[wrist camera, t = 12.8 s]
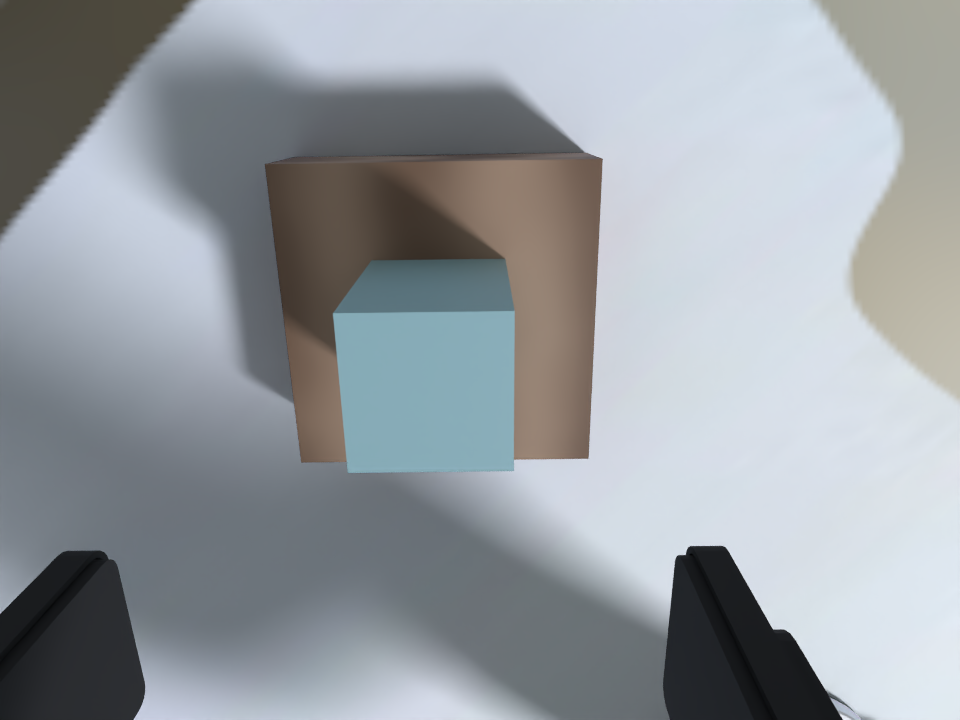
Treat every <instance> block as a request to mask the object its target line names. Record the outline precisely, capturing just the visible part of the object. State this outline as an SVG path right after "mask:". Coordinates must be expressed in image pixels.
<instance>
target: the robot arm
mask: <svg viewBox="0 0 960 720" xmlns="http://www.w3.org/2000/svg"><path fill="white" fill-rule="evenodd" d="M663 690H664V698H665V703H666V707H667V711H668V714H669V717H670V720H862V719H861V718H860V717H859V716H858V715H857V714H856V713H854V712H853V711H852V710H851V709H850V708H848V707H847V706H845V705H844V704H842V703H840V702H838V701H836V700H834V699H832V698H830V697H829V696H828V694H827V692H826V691H825V689H824V687H823V686H822V684H821V682H820V681H819V679H818V677H817V676H816V674H815V672H814V671H813V669H812V667H811V666H810V664H809V662H808V661H807V659H806V657H805V656H804V654H803V652H802V651H801V649H800V647H799V646H798V644H797V642H796V641H795V639H794V638H793V637H792V635H791V634H790V633H789V632H787V631H786V630H773V629H772V627H771V626H770V624H769V622H768V620H767V618H766V617H765V615H764V613H763V611H762V610H761V608H760V606H759V604H758V603H757V601H756V599H755V597H754V596H753V594H752V592H751V590H750V589H749V587H748V585H747V583H746V581H745V580H744V578H743V576H742V574H741V573H740V571H739V569H738V567H737V566H736V564H735V562H734V560H733V559H732V557H731V555H730V553H729V552H728V550H727V549H726V547H724V546H690V547H688V549H687V552H686V555H678V556H677V557H676V560H675V568H674V578H673V588H672V598H671V608H670V618H669V628H668V639H667V649H666V659H665V669H664V679H663ZM144 695H145V682H144V678H143V673H142V669H141V665H140V660H139V656H138V652H137V648H136V643H135V639H134V635H133V631H132V626H131V622H130V618H129V614H128V609H127V605H126V601H125V596H124V592H123V588H122V584H121V579H120V575H119V571H118V567H117V564H116V563H115V561H114V560H108V557H107V555H106V554H105V553H104V552H102V551H66V552H63V553H61V554H60V555H59V556H57V557H56V558H55V559H54V560H53V561H52V562H51V563H50V564H49V565H48V566H47V567H46V569H45V570H44V571H43V572H42V573H41V574H40V575H39V576H38V577H37V578H36V579H35V580H34V581H33V582H32V583H31V584H30V585H29V586H28V587H27V588H26V589H25V590H24V591H23V592H22V593H21V594H20V595H19V596H18V597H17V598H16V599H15V600H14V601H13V602H12V603H11V604H10V605H9V606H8V607H7V608H6V609H5V610H4V611H3V612H2V613H1V614H0V720H134V718H135V716H136V715H137V713H138V711H139V709H140V707H141V705H142V702H143V699H144Z"/></svg>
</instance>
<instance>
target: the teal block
mask: <svg viewBox="0 0 960 720" xmlns="http://www.w3.org/2000/svg"><path fill="white" fill-rule="evenodd" d="M333 319H334V330H335V341H336V351H337V362H338V373H339V384H340V395H341V405H342V416H343V427H344V438H345V448H346V459H347V470H348V473H385V472H472V471H514V345H515V310H514V304H513V299H512V293H511V288H510V282H509V277H508V271H507V265H506V260H505V259H446V260H371V262H370V263H369V265H368V266H367V267H366V269H365V270H364V271H363V273H362V274H361V276H360V277H359V278H358V280H357V281H356V282H355V284H354V285H353V287H352V288H351V289H350V291H349V292H348V293H347V295H346V296H345V297H344V299H343V300H342V302H341V303H340V304H339V306H338V307H337V308H336V310H335V311H334V313H333Z"/></svg>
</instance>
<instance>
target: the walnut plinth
mask: <svg viewBox="0 0 960 720" xmlns="http://www.w3.org/2000/svg"><path fill="white" fill-rule="evenodd" d="M602 160H603V159H601V158H599V157H596V156H593V155H591V154H588V153H530V154H465V155H401V156H337V157H293V158H289V159H284V160H280V161H276V162H272V163H268V164H265V169H266V177H267V186H268V194H269V202H270V210H271V218H272V226H273V235H274V243H275V251H276V259H277V267H278V275H279V284H280V292H281V300H282V308H283V316H284V324H285V333H286V341H287V349H288V357H289V365H290V373H291V382H292V390H293V398H294V406H295V414H296V422H297V431H298V439H299V447H300V455H301V462H347V459H346V448H345V438H344V427H343V416H342V405H341V395H340V384H339V373H338V362H337V351H336V341H335V330H334V319H333V313H334V311H335V310H336V308H337V307H338V306H339V304H340V303H341V302H342V300H343V299H344V297H345V296H346V295H347V293H348V292H349V291H350V289H351V288H352V287H353V285H354V284H355V282H356V281H357V280H358V278H359V277H360V276H361V274H362V273H363V271H364V270H365V269H366V267H367V266H368V265H369V263H370V262H371V260H446V259H505V260H506V265H507V271H508V277H509V282H510V288H511V293H512V299H513V304H514V310H515V345H514V460H515V459H588V457H589V435H590V414H591V393H592V372H593V351H594V330H595V308H596V287H597V266H598V245H599V224H600V203H601V182H602Z"/></svg>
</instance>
